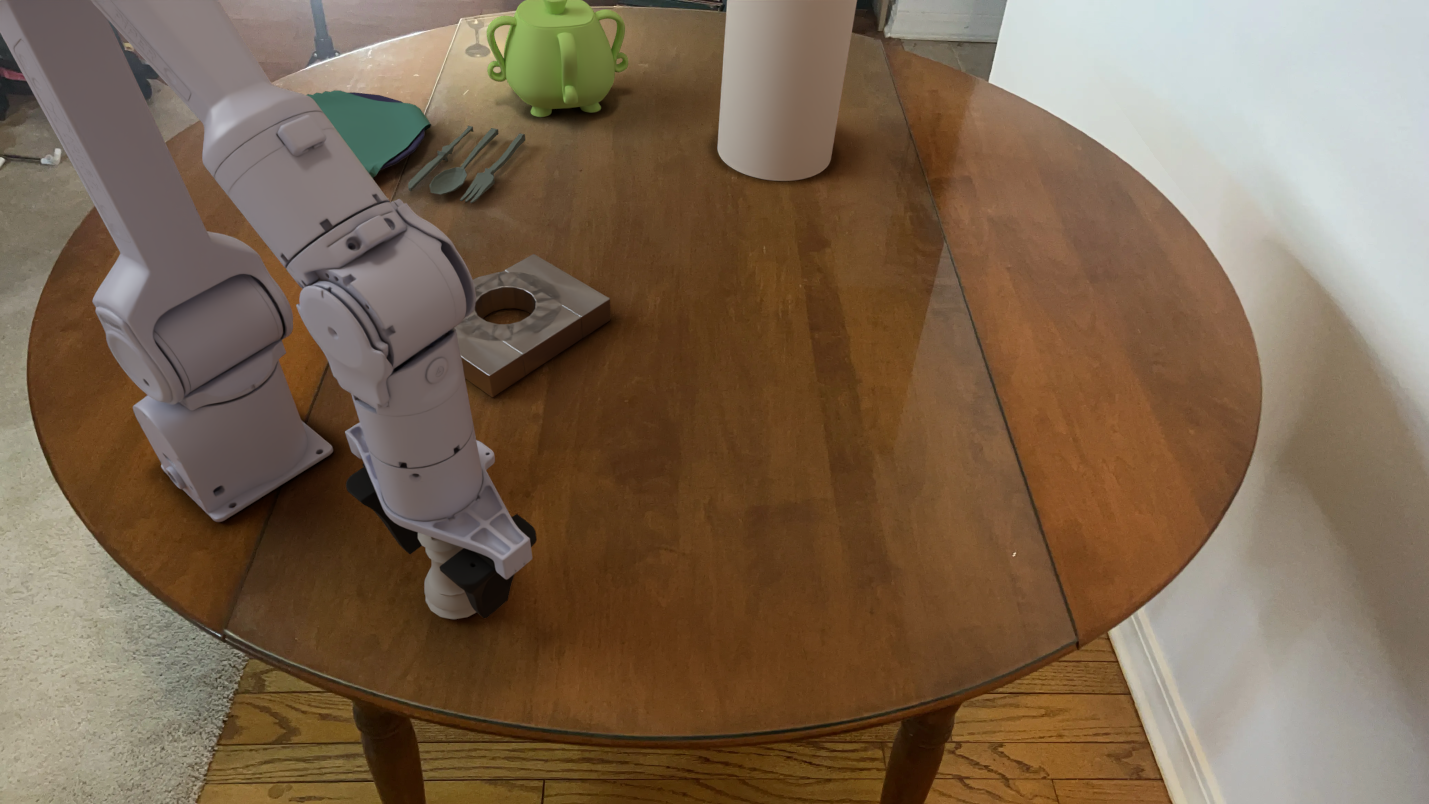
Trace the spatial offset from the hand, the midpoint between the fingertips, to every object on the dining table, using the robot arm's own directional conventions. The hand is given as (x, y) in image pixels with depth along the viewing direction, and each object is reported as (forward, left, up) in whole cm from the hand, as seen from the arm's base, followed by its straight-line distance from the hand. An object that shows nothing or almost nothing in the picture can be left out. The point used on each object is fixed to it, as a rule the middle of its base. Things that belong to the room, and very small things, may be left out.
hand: (455, 573), depth 59 cm
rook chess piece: (0, 0, -3) cm, 3 cm away
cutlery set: (+31, +52, -3) cm, 61 cm away
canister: (+64, +21, -3) cm, 67 cm away
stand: (+21, +18, -2) cm, 28 cm away
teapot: (+56, +49, -3) cm, 74 cm away
